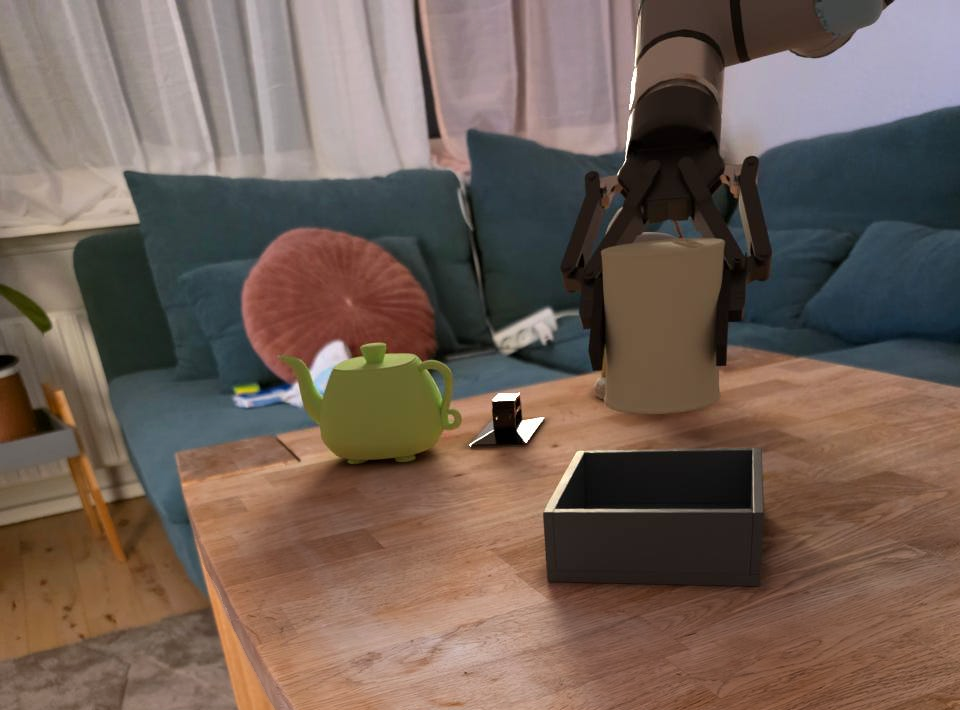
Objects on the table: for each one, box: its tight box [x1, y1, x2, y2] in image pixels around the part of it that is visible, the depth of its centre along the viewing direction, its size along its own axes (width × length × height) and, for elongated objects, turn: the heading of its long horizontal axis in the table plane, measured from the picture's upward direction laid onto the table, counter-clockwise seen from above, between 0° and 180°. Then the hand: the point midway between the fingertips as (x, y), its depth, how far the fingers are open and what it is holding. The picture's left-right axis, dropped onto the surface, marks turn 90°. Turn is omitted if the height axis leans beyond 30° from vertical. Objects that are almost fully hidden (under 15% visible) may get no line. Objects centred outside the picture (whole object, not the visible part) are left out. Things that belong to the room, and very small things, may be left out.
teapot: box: [277, 342, 463, 465], centre depth 109 cm, size 22×15×13 cm
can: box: [601, 237, 725, 415], centre depth 69 cm, size 9×9×12 cm
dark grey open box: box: [542, 447, 765, 587], centre depth 76 cm, size 17×17×6 cm
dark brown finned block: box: [469, 392, 545, 448], centre depth 114 cm, size 12×7×5 cm, turn 166°
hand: (657, 358), depth 67 cm, fingers closed on can, 9 cm apart
